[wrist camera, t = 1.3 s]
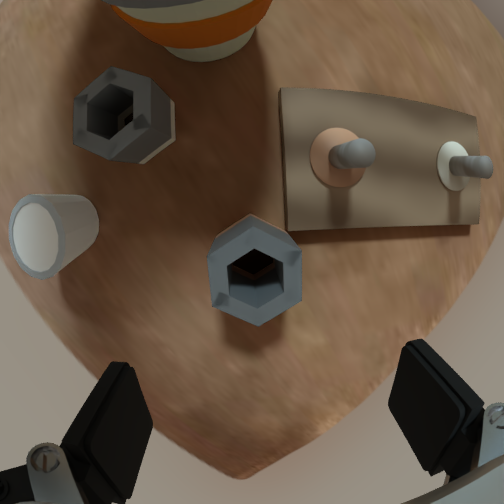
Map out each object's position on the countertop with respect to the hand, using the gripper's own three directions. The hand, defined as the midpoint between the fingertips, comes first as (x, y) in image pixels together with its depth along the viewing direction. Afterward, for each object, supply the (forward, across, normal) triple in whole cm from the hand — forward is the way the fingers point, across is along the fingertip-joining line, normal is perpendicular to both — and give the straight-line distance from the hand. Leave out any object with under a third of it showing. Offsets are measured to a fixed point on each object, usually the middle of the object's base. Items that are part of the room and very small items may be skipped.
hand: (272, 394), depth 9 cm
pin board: (+17, -14, -9) cm, 24 cm away
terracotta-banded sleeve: (+17, 0, -1) cm, 17 cm away
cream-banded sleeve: (+17, +9, -13) cm, 23 cm away
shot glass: (+17, +17, -5) cm, 25 cm away
